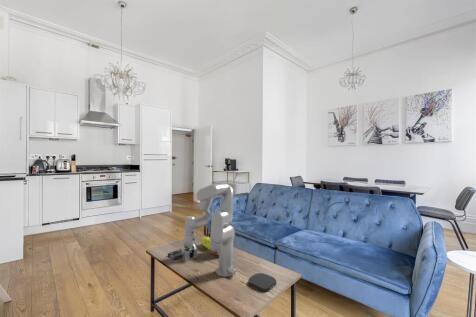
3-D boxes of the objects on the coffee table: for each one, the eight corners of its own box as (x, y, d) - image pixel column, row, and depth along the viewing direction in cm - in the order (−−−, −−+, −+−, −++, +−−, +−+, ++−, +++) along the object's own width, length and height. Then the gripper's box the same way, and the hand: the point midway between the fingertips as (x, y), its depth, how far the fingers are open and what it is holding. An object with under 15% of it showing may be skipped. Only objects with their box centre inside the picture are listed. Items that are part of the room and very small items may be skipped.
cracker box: (209, 253, 177) (209, 227, 177) (214, 250, 182) (214, 225, 182) (222, 258, 168) (222, 230, 168) (227, 255, 173) (227, 229, 173)
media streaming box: (258, 275, 145) (259, 270, 145) (278, 283, 135) (278, 278, 135) (245, 284, 133) (245, 279, 133) (265, 294, 124) (266, 289, 124)
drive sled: (187, 255, 172) (187, 252, 172) (174, 260, 163) (174, 256, 164) (181, 251, 178) (181, 248, 178) (167, 256, 169) (167, 253, 169)
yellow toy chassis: (201, 245, 194) (201, 235, 194) (207, 243, 197) (207, 234, 197) (209, 251, 180) (209, 241, 180) (215, 250, 184) (215, 240, 184)
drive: (197, 256, 170) (197, 247, 170) (185, 261, 162) (185, 251, 162) (193, 254, 173) (193, 245, 173) (181, 259, 165) (181, 249, 165)
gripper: (200, 234, 165) (200, 258, 164) (187, 229, 176) (187, 251, 176) (192, 236, 159) (192, 261, 159) (179, 231, 170) (179, 254, 170)
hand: (189, 256), depth 167 cm, fingers closed on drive, 5 cm apart
